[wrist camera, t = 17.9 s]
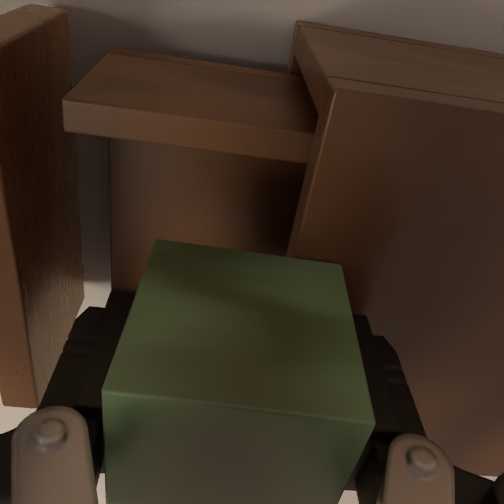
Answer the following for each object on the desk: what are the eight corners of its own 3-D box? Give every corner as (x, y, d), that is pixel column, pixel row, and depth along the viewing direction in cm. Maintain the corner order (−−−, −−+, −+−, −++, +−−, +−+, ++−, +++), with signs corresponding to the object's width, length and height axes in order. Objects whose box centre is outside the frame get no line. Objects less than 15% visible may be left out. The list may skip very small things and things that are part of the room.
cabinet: (242, 309, 23) (243, 460, 17) (296, 19, 16) (334, 88, 9) (547, 340, 25) (655, 488, 18) (721, 89, 17) (1000, 188, 11)
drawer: (-84, 280, 20) (-184, 393, 16) (-179, -31, 14) (-402, -4, 9) (376, 326, 23) (414, 438, 18) (479, 74, 16) (582, 141, 11)
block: (149, 367, 14) (106, 530, 10) (155, 237, 12) (100, 390, 8) (303, 386, 14) (316, 552, 11) (342, 263, 12) (376, 423, 8)
